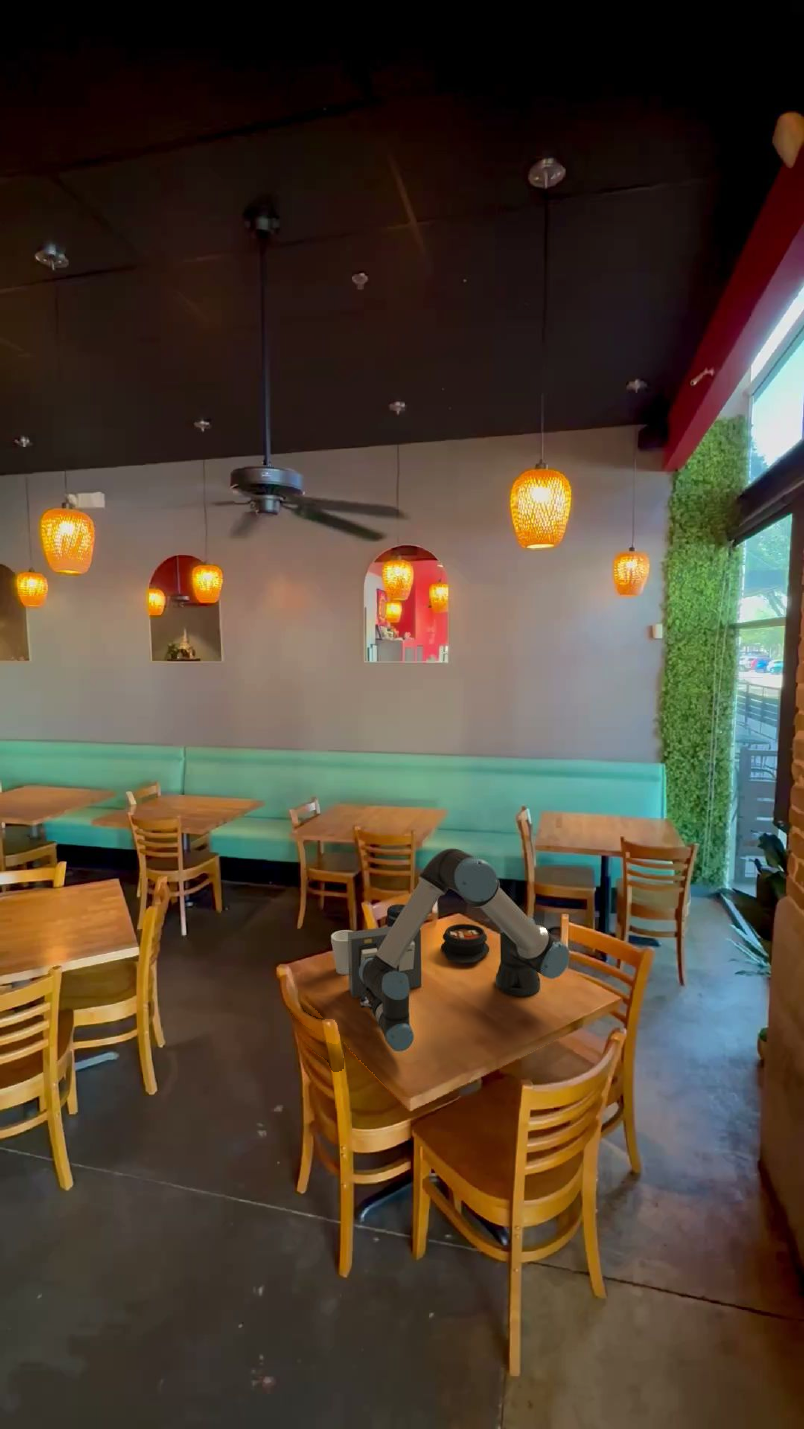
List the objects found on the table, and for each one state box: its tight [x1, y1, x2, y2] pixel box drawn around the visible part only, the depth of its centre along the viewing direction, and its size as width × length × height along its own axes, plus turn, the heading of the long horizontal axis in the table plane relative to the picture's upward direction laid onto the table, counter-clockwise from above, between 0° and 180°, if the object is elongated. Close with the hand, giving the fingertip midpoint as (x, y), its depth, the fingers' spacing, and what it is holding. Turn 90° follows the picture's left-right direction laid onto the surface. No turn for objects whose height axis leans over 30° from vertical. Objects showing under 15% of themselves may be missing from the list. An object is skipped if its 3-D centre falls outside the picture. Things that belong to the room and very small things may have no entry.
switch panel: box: [348, 926, 422, 999], centre depth 221 cm, size 16×24×20 cm, turn 106°
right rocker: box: [398, 941, 415, 971], centre depth 215 cm, size 2×5×10 cm, turn 106°
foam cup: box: [330, 929, 354, 975], centre depth 230 cm, size 10×9×13 cm
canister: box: [386, 903, 406, 927], centre depth 246 cm, size 10×10×18 cm
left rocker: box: [360, 948, 377, 965], centre depth 211 cm, size 2×5×10 cm, turn 107°
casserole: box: [440, 923, 491, 964], centre depth 244 cm, size 25×19×8 cm
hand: (367, 975), depth 212 cm, fingers closed
